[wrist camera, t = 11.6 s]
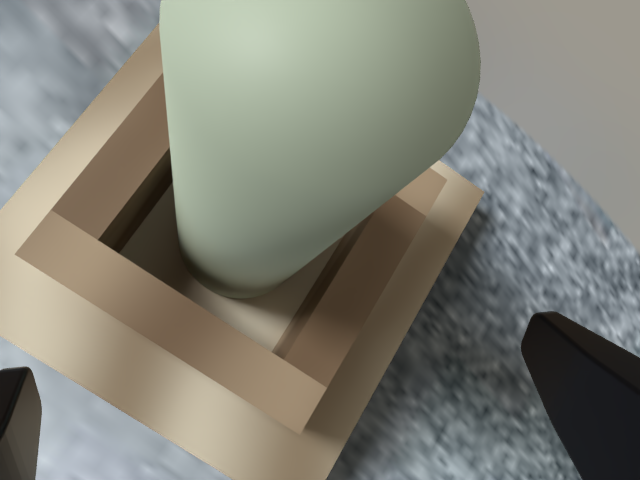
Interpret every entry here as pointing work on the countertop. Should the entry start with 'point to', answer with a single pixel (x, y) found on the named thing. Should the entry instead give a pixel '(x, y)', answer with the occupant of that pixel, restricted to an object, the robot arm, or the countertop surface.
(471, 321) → the countertop surface
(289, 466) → the socket base
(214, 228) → the post
